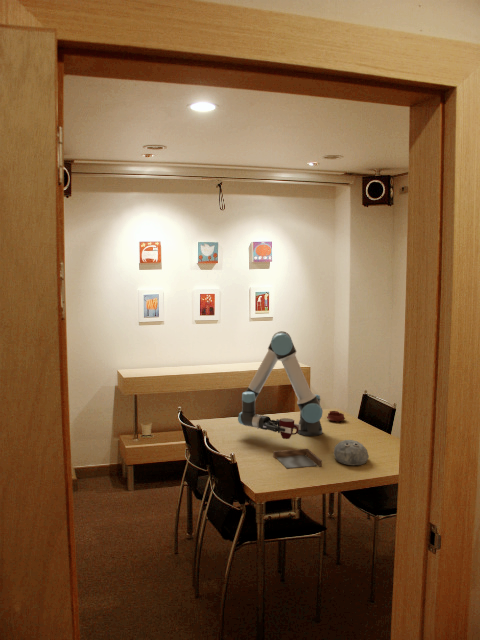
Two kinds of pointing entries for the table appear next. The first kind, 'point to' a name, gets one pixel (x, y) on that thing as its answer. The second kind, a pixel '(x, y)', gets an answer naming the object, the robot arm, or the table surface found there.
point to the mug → (289, 424)
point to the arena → (297, 458)
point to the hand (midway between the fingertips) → (295, 429)
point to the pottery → (335, 416)
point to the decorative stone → (351, 452)
